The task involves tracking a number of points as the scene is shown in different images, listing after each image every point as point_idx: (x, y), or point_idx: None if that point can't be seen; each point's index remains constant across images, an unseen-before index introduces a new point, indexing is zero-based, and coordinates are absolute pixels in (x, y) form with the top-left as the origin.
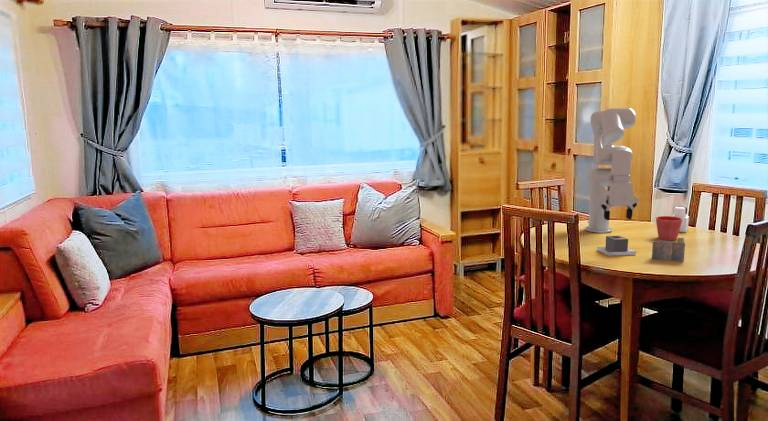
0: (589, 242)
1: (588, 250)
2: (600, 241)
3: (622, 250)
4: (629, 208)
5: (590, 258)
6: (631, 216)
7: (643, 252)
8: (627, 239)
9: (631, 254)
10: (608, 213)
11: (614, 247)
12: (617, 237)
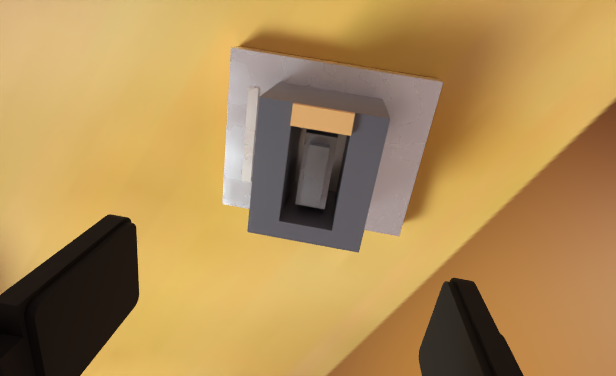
0: (311, 365)
1: (445, 241)
2: (245, 361)
3: (317, 88)
4: (4, 373)
5: (612, 59)
6: (88, 231)
7: (153, 91)
8: (266, 97)
9: (269, 51)
10: (512, 361)
11: (381, 104)
12: (281, 209)
